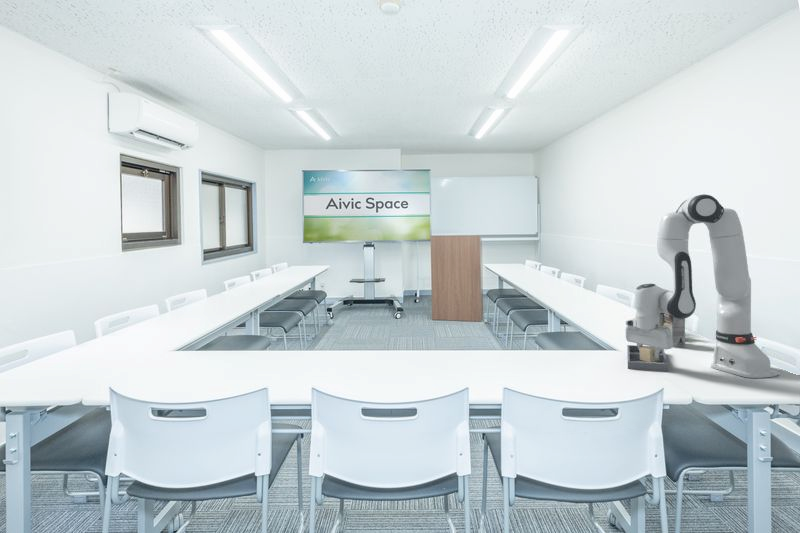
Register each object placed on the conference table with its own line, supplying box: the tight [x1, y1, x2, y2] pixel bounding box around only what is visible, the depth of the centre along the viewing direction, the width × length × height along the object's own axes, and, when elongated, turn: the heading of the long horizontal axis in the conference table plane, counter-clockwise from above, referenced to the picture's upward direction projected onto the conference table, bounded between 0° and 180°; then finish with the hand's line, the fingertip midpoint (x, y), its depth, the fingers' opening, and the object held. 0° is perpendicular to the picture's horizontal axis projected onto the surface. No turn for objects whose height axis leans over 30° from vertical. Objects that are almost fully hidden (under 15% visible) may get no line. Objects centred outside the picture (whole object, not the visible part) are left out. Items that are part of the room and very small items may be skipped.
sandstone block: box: [639, 345, 659, 363], centre depth 195 cm, size 5×5×5 cm
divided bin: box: [626, 344, 669, 372], centre depth 203 cm, size 28×15×3 cm, turn 154°
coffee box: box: [662, 313, 686, 348], centre depth 225 cm, size 9×6×16 cm
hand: (649, 355), depth 195 cm, fingers closed on sandstone block, 5 cm apart
